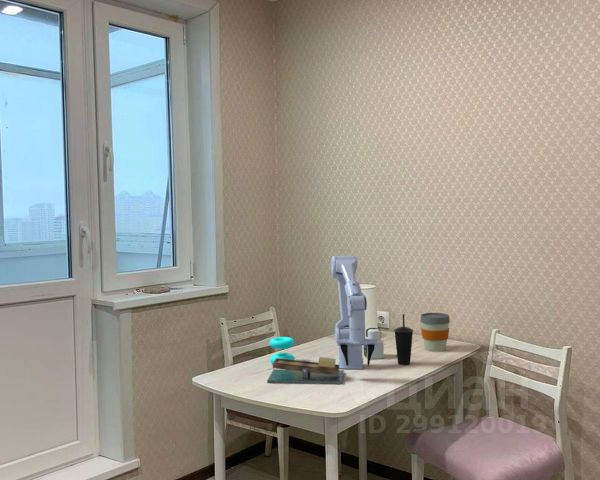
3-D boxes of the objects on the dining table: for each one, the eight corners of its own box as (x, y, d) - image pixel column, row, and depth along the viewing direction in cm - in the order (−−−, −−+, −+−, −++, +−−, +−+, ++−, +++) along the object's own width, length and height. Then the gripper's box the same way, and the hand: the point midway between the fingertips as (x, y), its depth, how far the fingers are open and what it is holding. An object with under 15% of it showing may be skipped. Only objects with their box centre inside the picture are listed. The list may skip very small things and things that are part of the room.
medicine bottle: (363, 355, 241) (363, 327, 241) (380, 354, 242) (379, 326, 241) (366, 359, 234) (366, 330, 234) (383, 358, 235) (383, 330, 234)
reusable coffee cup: (453, 347, 251) (453, 314, 250) (444, 354, 240) (444, 319, 239) (426, 344, 257) (426, 311, 257) (416, 350, 247) (416, 316, 246)
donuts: (273, 335, 237) (296, 336, 235) (273, 359, 237) (296, 360, 235) (266, 341, 227) (291, 342, 225) (267, 366, 228) (291, 366, 226)
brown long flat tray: (338, 370, 212) (339, 364, 212) (338, 375, 206) (338, 369, 205) (275, 363, 215) (276, 357, 215) (272, 368, 208) (273, 362, 208)
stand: (343, 372, 216) (343, 359, 215) (342, 384, 202) (341, 370, 201) (273, 372, 219) (273, 359, 219) (267, 383, 205) (266, 369, 205)
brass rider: (335, 366, 211) (335, 358, 211) (334, 370, 207) (335, 362, 206) (319, 364, 212) (319, 357, 212) (318, 368, 207) (318, 360, 207)
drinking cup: (409, 367, 221) (409, 316, 220) (391, 364, 226) (390, 314, 224) (416, 362, 228) (416, 313, 227) (398, 360, 232) (398, 311, 231)
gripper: (336, 330, 204) (337, 367, 205) (377, 330, 202) (378, 368, 203) (337, 326, 211) (338, 362, 212) (377, 326, 209) (377, 362, 210)
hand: (357, 364), depth 208 cm, fingers open, 7 cm apart
